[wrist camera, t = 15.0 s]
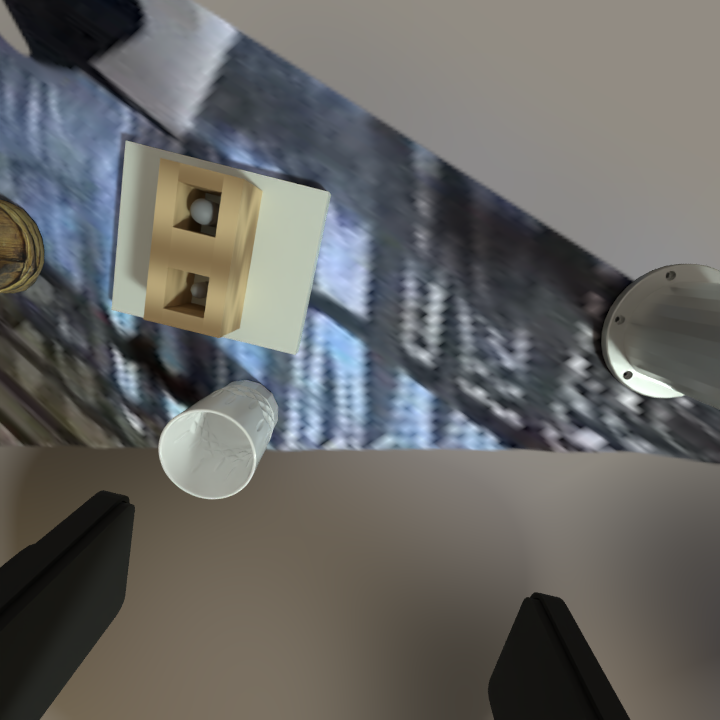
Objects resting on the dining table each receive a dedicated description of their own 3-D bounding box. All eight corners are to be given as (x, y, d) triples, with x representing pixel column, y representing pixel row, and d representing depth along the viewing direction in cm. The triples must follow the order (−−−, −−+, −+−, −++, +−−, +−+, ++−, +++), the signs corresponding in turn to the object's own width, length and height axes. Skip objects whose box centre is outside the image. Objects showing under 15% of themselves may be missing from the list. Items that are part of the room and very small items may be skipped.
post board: (330, 194, 35) (322, 181, 29) (298, 351, 39) (284, 366, 33) (136, 145, 35) (88, 121, 29) (121, 308, 39) (76, 316, 33)
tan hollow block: (191, 172, 34) (160, 157, 29) (262, 191, 34) (244, 178, 29) (173, 312, 37) (143, 319, 32) (239, 328, 37) (219, 338, 32)
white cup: (209, 370, 40) (155, 405, 30) (285, 377, 40) (256, 413, 30) (210, 441, 42) (160, 495, 32) (283, 447, 42) (255, 503, 32)
